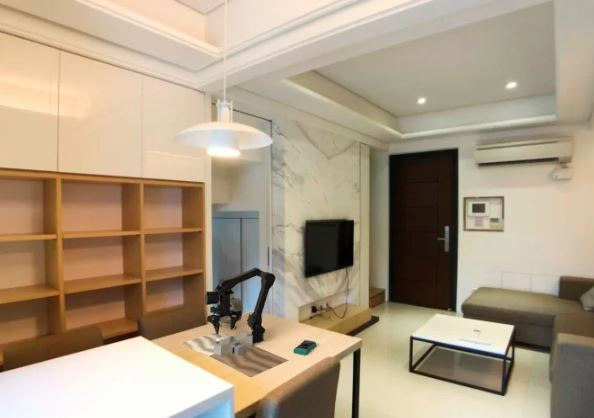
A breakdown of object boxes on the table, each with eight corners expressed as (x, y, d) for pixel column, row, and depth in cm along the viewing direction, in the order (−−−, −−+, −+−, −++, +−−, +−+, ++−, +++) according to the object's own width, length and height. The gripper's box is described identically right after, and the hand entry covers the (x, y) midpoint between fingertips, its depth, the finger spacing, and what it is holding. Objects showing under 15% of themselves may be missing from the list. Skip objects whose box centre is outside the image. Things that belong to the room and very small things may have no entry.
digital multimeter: (316, 346, 191) (316, 341, 191) (306, 356, 178) (306, 350, 178) (304, 344, 194) (304, 338, 194) (293, 354, 181) (293, 348, 181)
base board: (219, 333, 208) (219, 331, 208) (288, 362, 170) (288, 360, 170) (183, 344, 191) (183, 342, 191) (250, 379, 152) (250, 377, 152)
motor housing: (245, 344, 189) (245, 332, 189) (252, 347, 185) (252, 334, 185) (213, 355, 174) (213, 342, 174) (220, 358, 170) (220, 345, 170)
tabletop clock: (216, 327, 218) (216, 287, 218) (224, 323, 227) (224, 284, 227) (235, 330, 213) (236, 289, 213) (243, 326, 221) (244, 286, 221)
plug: (221, 343, 190) (221, 336, 190) (244, 353, 177) (244, 345, 177) (215, 345, 187) (215, 338, 187) (237, 356, 174) (237, 348, 174)
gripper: (230, 296, 198) (229, 324, 198) (201, 303, 184) (200, 332, 184) (242, 300, 190) (242, 329, 190) (213, 307, 176) (213, 338, 176)
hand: (224, 332), depth 185 cm, fingers open, 9 cm apart
